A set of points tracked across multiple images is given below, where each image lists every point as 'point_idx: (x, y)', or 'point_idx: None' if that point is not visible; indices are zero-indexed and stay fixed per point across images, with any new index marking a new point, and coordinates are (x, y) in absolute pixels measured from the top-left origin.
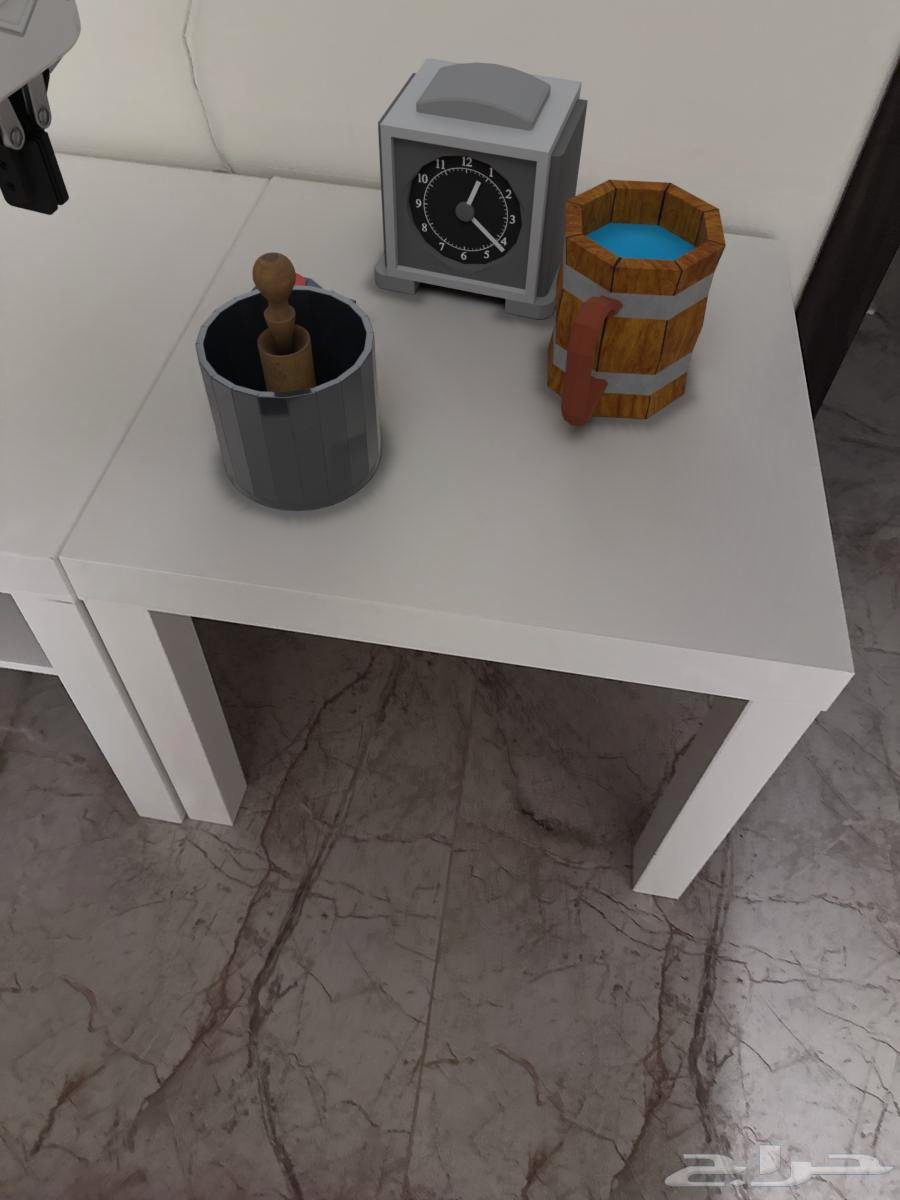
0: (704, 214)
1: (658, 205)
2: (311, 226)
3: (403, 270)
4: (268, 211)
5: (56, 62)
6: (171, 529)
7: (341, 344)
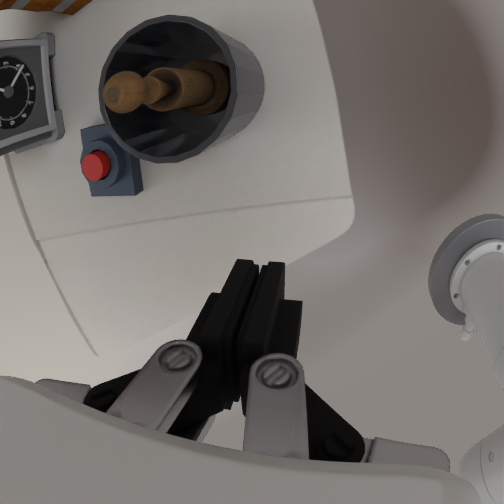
0: None
1: None
2: (48, 199)
3: (51, 119)
4: (53, 228)
5: (67, 384)
6: (308, 136)
7: None
